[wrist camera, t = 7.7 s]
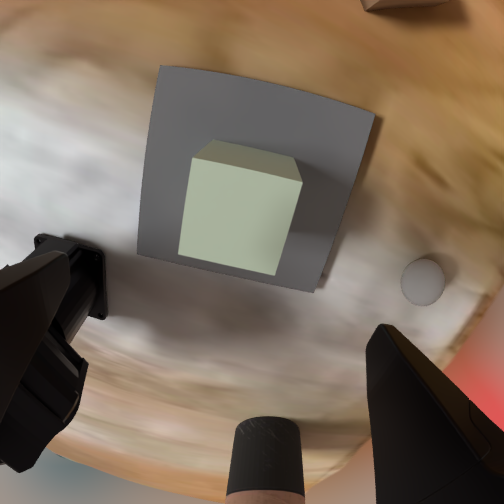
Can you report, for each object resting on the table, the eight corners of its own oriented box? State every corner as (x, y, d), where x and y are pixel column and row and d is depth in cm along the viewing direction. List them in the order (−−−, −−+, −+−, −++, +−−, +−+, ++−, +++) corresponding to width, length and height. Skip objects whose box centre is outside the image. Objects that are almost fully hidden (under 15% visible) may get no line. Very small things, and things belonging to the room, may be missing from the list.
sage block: (273, 230, 19) (274, 275, 15) (199, 213, 19) (178, 254, 14) (293, 157, 17) (302, 182, 12) (213, 139, 17) (192, 157, 12)
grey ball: (422, 291, 22) (437, 318, 19) (387, 284, 21) (401, 312, 19) (440, 255, 20) (460, 279, 17) (406, 245, 20) (424, 270, 17)
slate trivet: (312, 286, 22) (313, 293, 21) (140, 248, 21) (136, 254, 20) (370, 113, 16) (375, 114, 15) (164, 66, 15) (160, 65, 15)
